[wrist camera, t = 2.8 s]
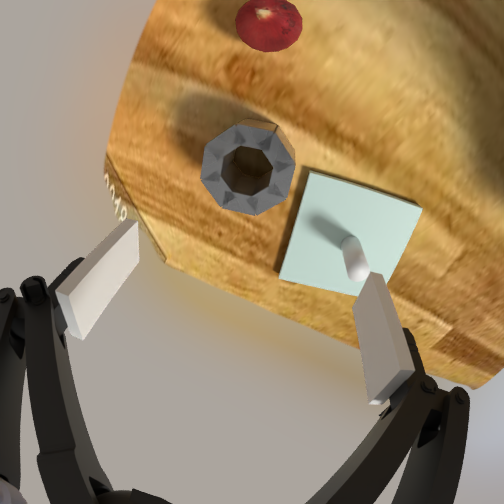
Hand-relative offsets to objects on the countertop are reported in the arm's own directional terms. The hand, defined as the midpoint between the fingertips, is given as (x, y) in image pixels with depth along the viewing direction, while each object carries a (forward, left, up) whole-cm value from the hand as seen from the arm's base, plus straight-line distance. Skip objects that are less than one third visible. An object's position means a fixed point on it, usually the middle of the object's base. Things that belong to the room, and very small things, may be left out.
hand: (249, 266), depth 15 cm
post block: (+5, +11, -18) cm, 21 cm away
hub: (-2, -2, -18) cm, 18 cm away
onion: (-16, -3, -18) cm, 24 cm away
